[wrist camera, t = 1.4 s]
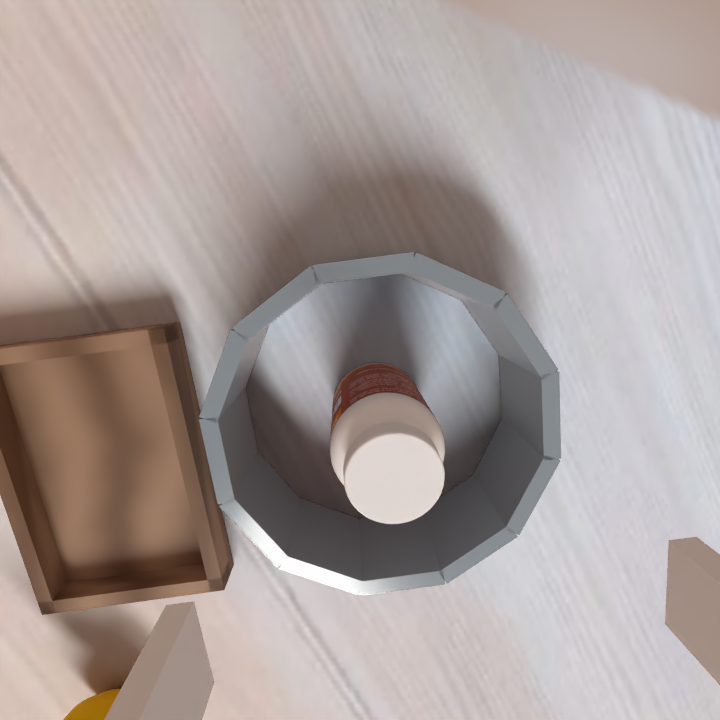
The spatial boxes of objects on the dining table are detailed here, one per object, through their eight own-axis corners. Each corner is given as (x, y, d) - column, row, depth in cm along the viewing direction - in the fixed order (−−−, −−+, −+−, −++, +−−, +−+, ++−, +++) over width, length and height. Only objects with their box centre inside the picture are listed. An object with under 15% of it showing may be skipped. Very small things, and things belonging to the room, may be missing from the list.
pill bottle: (322, 373, 29) (310, 434, 18) (407, 351, 29) (445, 399, 18) (345, 452, 30) (346, 553, 19) (427, 431, 30) (473, 521, 19)
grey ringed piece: (262, 543, 32) (241, 612, 25) (209, 280, 27) (168, 283, 21) (519, 508, 32) (563, 568, 25) (507, 241, 27) (556, 233, 21)
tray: (66, 587, 32) (42, 614, 29) (-13, 347, 28) (-49, 354, 25) (233, 564, 32) (224, 589, 29) (180, 322, 28) (163, 327, 25)
